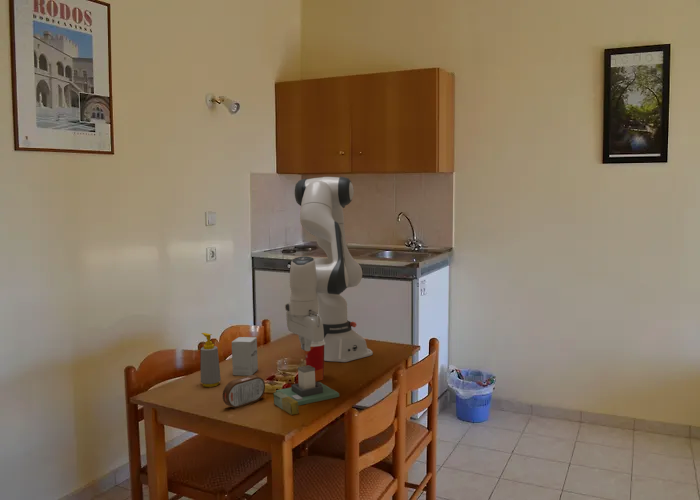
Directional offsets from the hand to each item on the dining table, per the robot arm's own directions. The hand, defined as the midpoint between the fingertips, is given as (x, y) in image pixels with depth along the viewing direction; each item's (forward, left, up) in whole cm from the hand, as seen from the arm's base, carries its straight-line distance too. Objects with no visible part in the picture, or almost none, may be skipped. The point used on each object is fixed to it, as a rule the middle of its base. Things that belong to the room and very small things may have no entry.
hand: (305, 350), depth 207 cm
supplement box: (+8, -35, -15) cm, 39 cm away
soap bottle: (+23, -29, -15) cm, 40 cm away
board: (0, 0, -15) cm, 15 cm away
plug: (0, 0, -14) cm, 14 cm away
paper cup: (-10, -14, -15) cm, 23 cm away
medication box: (+11, +7, -16) cm, 20 cm away
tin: (+20, -4, -15) cm, 25 cm away
